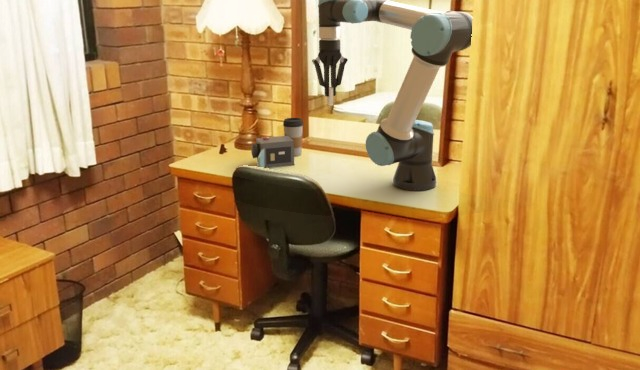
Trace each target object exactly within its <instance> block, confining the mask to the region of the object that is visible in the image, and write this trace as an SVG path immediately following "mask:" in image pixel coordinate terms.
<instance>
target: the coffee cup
mask: <svg viewBox="0 0 640 370" xmlns="http://www.w3.org/2000/svg"><path fill="white" fill-rule="evenodd" d="M282 123H283V125H282V126H283V131H284V133H283V136H289V137H290V138H291V139H292V140H293V141H294V158H295V157H300V156H301V155H302V151H303V150H302V148H303V126H304V122H303V119H302V118H301V117H300V118H299V117H287V118H285V119H284V120H283V122H282Z"/></svg>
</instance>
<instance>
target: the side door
mask: <svg viewBox="0 0 640 370" xmlns="http://www.w3.org/2000/svg"><path fill="white" fill-rule="evenodd" d="M257 167H265V149H264V148H262V150H261V152H260V154H259V156H258V163H257V162H256V168H257Z"/></svg>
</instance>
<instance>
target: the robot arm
mask: <svg viewBox="0 0 640 370" xmlns="http://www.w3.org/2000/svg"><path fill="white" fill-rule="evenodd" d="M317 7H318V38H319V40H318V51H319V52H318V54H317V57H316V58H314V59H312V60H311V62H312V64H313V65H314V68H315V72H316V76H317V81H318V85H320V86H321V87H324V96H325V97H326V101H327V102H326V105H328V106H330V107H333V106H334V97H336V95H337V92H336V91H337V89H336V88H337V87H338V86H341V84H342V80H343V76H344V71H345V67H346V64H347V62H348V58H347V57H344V56H343V54H342V52H341V39H340V38H341V23H346V24H347V23H348V24H353V25H354V24H360V23H363V22H365V23H366V22H377V23H382V24H387V25H391V26H394V27H398V28H402V29H407V30H410V39H411V41H410V44H411V54H412V55H413V58H412V60H411V62H410V65H409V66H408V70H407V71H406V74H405V77H404V78H403V80H402V83H401V86H400V88H399V91H398V92H397V94H396V98H395V100H394V102H393V104H392V106H391V108H390V111H389V114H388V116H387V117H385V118H383V119H382V120H380V123H379V125H378V127H377V130H376V131H373V132H372V131H371V133H369V134H368V135H367V137H366V139H365V150H366V153H367V156H368V158H369V159H370V161H372V163H374V164H375V165H377V166H380V167H384V166H390V165H393V164H397V167H396V169H395V172H394V175H393V179H392V181H393V182H392V184H393V186H395V187H396V188H399V189H402V190H406V191H419V192H420V191H426V190H428V191H429V190H431V189H434V188H435V187H436V186H437V176H436V174H435V170H434V167H433V152H434V151H433V148H434V136H435V133H434V125H433V123H432V122H430V121H426V120H421V119H417V117H418V116H419V113H420V111H421V109H422V107H423V105H424V103H425V100H426V99H427V96H428V93H429V92H430V90H431V87H432V85H433V83H434V81H435V79H436V77H437V75H438V72H439V71H440V68H442V67H445V66H447V65H448V64H449V61H450V58H451V57H452V54H453V53H455V52H461V51H464V50H467V49H468V48H470V47H471V46H472V45H471V37H472V36H471V34H472V20H473V18H474V17H473V16H472V15H471V14H469V13H468V12H465V11H455V10H449V9H448V10H446V11H445V10H444V11H443V12H442V11H439V10H433V9H428V8H424V7H420V6H415V5H410V4H405V3H401V2H400V3H399V2H396V1H391V0H318V5H317ZM321 63H322V65H323V66H322V67H323V71H322V68H321ZM338 63H339V64H338ZM337 64H338V65H339V66H338V69H337ZM322 72H323V73H322Z"/></svg>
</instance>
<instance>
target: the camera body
mask: <svg viewBox="0 0 640 370" xmlns="http://www.w3.org/2000/svg"><path fill="white" fill-rule="evenodd" d="M255 141H256V142H255V143H252V144H251V146H250V147H251V149H250V151H251V156H252V159H256V161H257V162H256V164H257V163H258V156H259V154H260V152H261V150H262V148H264V149H265V167H268V168H267V169H269V168H278V167H279V168H280V167H290V166H295V157H294V141H293V140H292V139H291V138H290V137H289V136H284V135H279V136H278V135H277V136H269V135H268V136H267V135H265V136H262V137H257V138H256V139H255Z"/></svg>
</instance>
